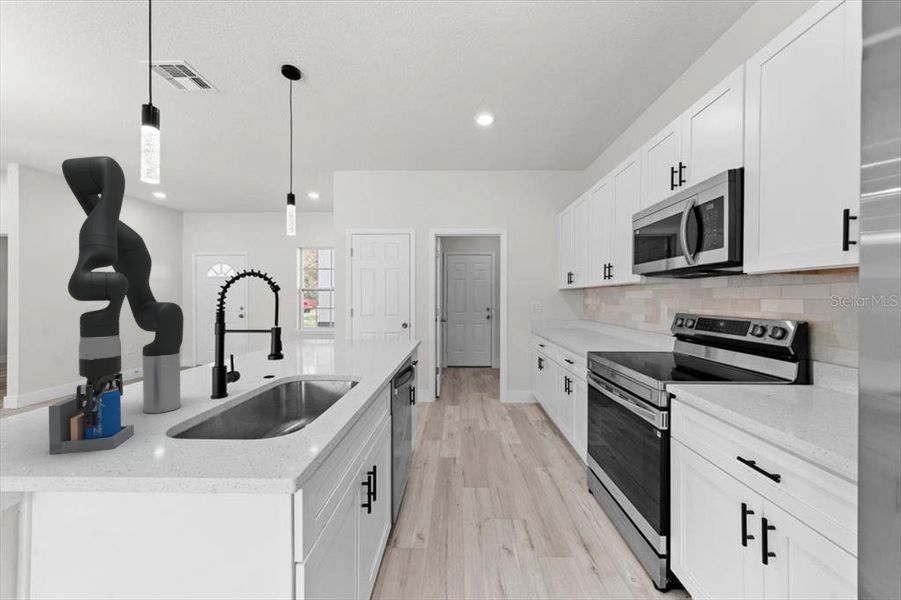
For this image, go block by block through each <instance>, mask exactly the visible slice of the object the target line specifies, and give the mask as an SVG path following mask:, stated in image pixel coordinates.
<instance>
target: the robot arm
mask: <svg viewBox="0 0 901 600" xmlns="http://www.w3.org/2000/svg"><path fill="white" fill-rule="evenodd" d="M61 171H62V174H63V178H64V179H65V182H66V183H67V185H68V187H69V189H70V191H71V192H72V194H73V195H74V197H75V199H76V200H77V202H78V204H79V205H80V207H81V208H82V211H83V212H84V214H85V216H86V218H85V220H84V221H83V223H82V225H81V227H80V229H79V233H78V257H77V261H76V265H75V267H74V270H73V272H72V274H71V275H70V279H69V280H68V284H67V293H68V294H69V295H70V296H71V298H73V299H74V300H75V301H78V302H109V303H108V305H107V306H106V307H104V308H100V309H96V310H91V311H90V310H89V311H87V312H83V313H81V315H80V316H79V344H78V374H79V377H81V378H85V379H86V384H78V385H77V386H76V394H75V395H76V411H77V412H84V427H85V428H95V427H97V426H98V411H97V409H98V406H99V403H100V402H102V401H103V396H104V392H107V391H108V390H110V389H114V388H115V387H118V390H119V391H120V396H123V395H124V386H123V385H124V384H123V373H121V372H122V343H121V338H120V319H121V318H120V316H121V311H122V307H123V303H124V300H125V298H126V299H127V302H128V305H129V308H130V310H131V313H132V317H133V318H134V321H135V323H136V325H137V326H138V328H140V330H142V331H144V332H151V333H154V338H153V341H151V342H150V343H147V344H145V345H143V347H142V392H143V393H142V396H143V397H142V398H143V401H142V402H143V403H142V405H143V406H142V407H143V410H142V411H143V412H144V413H145V414H159V413H166V412H171V411H174V410H177V409H180V408H181V359H180V357H181V354H180V353H181V352H180V351H181V346H182V343H183V340H184V339H183V338H184V319H185V318H184V312H183V309H182V308H181V306H180V305H179V304H177V303H175V302H170V301H169V302H168V301H167V302H165V301H162V302H161V301H160V302H159V301H157V299H156V298H155V295H154V294H153V291H152V289H151V286H150V277H151V273H152V268H153V267H152V266H153V265H152V264H153V263H152V257H151V253H150V251H149V250H148V247H147V245H146V243H145V241H144V239H143V237H142V236H141V235H140V234H139V233H138V232H137V231H135V229H133V228H131V226H129V225H128V224H127V223H125V222H123V221H122V220H121V219H120V215H121V213H122V212H121V211H122V205H123V202H124V196H125V190H126V177H125V172H124V170H123V168H122V166H121V165H120V164H119V163H118V162H117V161H116V159H114V158H113V157H110V156H106V155H105V156H104V155H101V156H85V157H79V158H78V157H76V158H68V159H65V160H64V161H63V162H62V164H61ZM99 195H100V196H99ZM107 267H112V270H114V271H94V270H96V269H100V268H101V269H102V268H107ZM93 395H99V396H98V397H96V398H93ZM82 401H83V402H84V404H83V406H82ZM93 403H94V404H93Z"/></svg>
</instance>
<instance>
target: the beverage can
mask: <svg viewBox="0 0 901 600" xmlns="http://www.w3.org/2000/svg"><path fill="white" fill-rule="evenodd" d="M98 396H99V395H93V398H96V397H98ZM93 404H94V403H93ZM121 404H122V403H121V396H120V391H119V390H118V387H115V388H114V389H110V390H108V391H107V392H104V396H103V401H102V402H100V403H99V406H98V409H97V411H98V426H97V427H95V428H85V440H86V439H98V438H109V437H112V436H114V435H115V434H117V433H118V432H120V431H121V426H122V413H121V412H122V411H121V410H122V407H121V406H122V405H121Z"/></svg>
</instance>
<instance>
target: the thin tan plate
mask: <svg viewBox="0 0 901 600" xmlns="http://www.w3.org/2000/svg"><path fill="white" fill-rule="evenodd" d="M74 440H85V427H84V413H82V414H79V415H77V416H75V417H73V418H71V441H74Z"/></svg>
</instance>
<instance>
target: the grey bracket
mask: <svg viewBox="0 0 901 600" xmlns="http://www.w3.org/2000/svg"><path fill="white" fill-rule="evenodd" d="M76 395H77V394H75V395H73V396H71V397H67V398H66V399H63V400H61V401H58V402H56V403H53V404H51V405H48V436H49V437H48V438H49V439H48V440H49V444H48V445H49V455H50V454H53V455H57V454H56V453H64V454H70V453H69V452H74V453H82V452H81V451H85V452H92V451H91V450H96V451H105V450H104V449H107V450H114V449H116V448H118V447H119V446H120V445H122V444H123V443H124V442H125V441H127V440H129V439H130V438H132V436H134V435H135V425H134V424H130V425H129V424H128V425H121V431H120V432H118V433H117V434H115V435H114V436H112V437H109V438H98V439H86V440H74V441H71V418H73V417H75V416H77V415H79V414H82V413H84V412H77V411H76ZM83 404H84V402H83V401H82V406H83Z"/></svg>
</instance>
